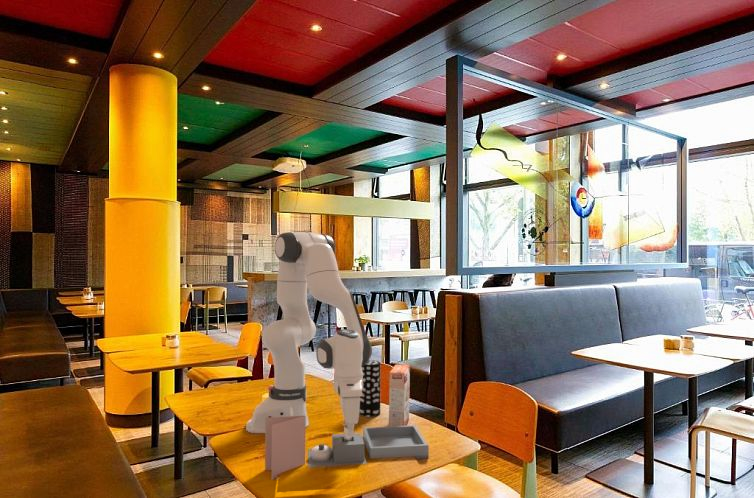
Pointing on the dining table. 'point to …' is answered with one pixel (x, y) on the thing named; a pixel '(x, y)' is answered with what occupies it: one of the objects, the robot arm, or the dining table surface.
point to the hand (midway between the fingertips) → (348, 429)
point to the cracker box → (399, 395)
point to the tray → (395, 442)
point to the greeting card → (284, 443)
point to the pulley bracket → (338, 452)
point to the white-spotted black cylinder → (371, 389)
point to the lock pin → (346, 437)
